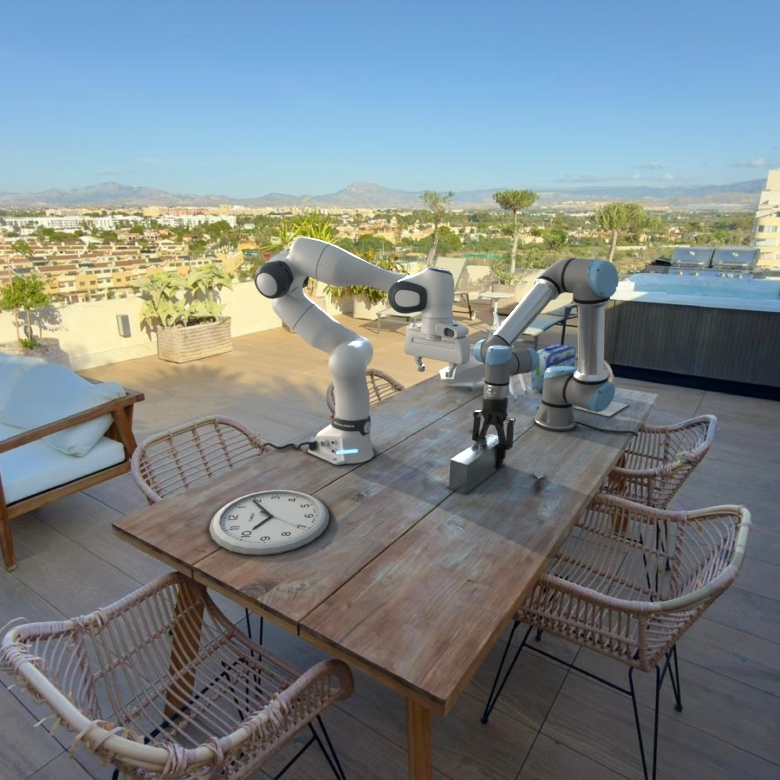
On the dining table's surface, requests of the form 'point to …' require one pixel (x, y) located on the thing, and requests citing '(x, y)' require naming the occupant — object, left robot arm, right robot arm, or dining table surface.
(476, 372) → the white plastic object
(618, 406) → the invitation card
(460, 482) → the bar
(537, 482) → the fork
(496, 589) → the dining table surface
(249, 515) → the wall clock
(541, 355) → the lunch box
